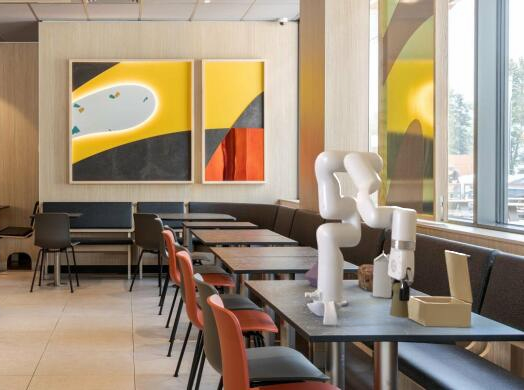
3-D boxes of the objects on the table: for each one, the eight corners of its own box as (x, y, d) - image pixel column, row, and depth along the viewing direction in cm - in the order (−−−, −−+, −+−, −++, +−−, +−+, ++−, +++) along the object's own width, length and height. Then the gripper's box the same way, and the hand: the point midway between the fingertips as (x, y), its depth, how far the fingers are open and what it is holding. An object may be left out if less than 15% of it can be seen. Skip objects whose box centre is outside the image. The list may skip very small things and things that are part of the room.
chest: (425, 326, 211) (425, 303, 210) (407, 317, 223) (408, 296, 223) (470, 327, 211) (471, 304, 211) (451, 318, 224) (451, 296, 223)
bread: (357, 284, 293) (357, 263, 293) (380, 285, 291) (381, 264, 291) (364, 291, 275) (365, 268, 275) (389, 292, 273) (390, 269, 273)
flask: (308, 281, 298) (310, 239, 297) (344, 285, 290) (345, 242, 289) (298, 286, 284) (300, 242, 283) (336, 290, 275) (337, 245, 275)
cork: (410, 318, 208) (412, 285, 207) (391, 316, 209) (393, 284, 209) (406, 314, 214) (408, 282, 213) (387, 312, 215) (389, 280, 215)
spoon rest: (305, 310, 231) (305, 291, 231) (338, 312, 230) (338, 292, 229) (313, 325, 208) (314, 303, 208) (350, 327, 206) (350, 305, 206)
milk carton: (372, 296, 262) (374, 251, 262) (372, 294, 269) (374, 250, 268) (390, 298, 260) (392, 252, 259) (390, 295, 266) (392, 251, 266)
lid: (464, 255, 210) (477, 252, 210) (444, 250, 223) (457, 248, 223) (470, 302, 211) (484, 300, 211) (450, 295, 223) (463, 293, 224)
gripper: (381, 241, 219) (378, 293, 220) (403, 248, 202) (400, 304, 203) (402, 242, 219) (399, 293, 220) (426, 249, 202) (423, 305, 203)
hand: (400, 298), depth 211 cm, fingers closed on cork, 5 cm apart
